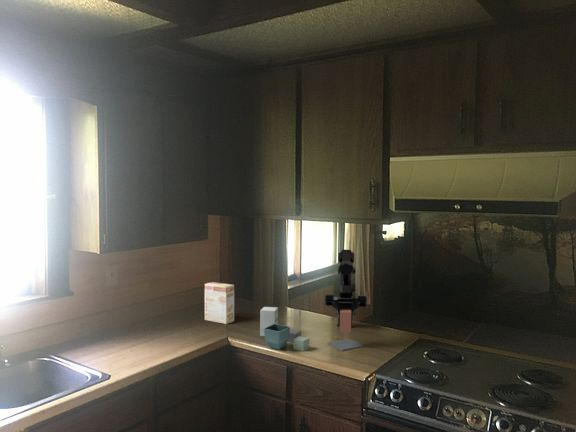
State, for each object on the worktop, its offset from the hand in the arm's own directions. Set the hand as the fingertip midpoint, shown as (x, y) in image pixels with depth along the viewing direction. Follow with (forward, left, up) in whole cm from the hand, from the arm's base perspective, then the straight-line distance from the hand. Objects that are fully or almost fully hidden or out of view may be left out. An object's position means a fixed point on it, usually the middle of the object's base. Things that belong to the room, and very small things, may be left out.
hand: (345, 317), depth 223 cm
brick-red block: (-1, -1, -7) cm, 7 cm away
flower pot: (+27, -14, -13) cm, 33 cm away
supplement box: (+21, -32, -13) cm, 41 cm away
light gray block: (+16, -18, -13) cm, 28 cm away
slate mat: (-1, -1, -13) cm, 13 cm away
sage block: (+19, -7, -13) cm, 24 cm away
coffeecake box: (+32, -66, -13) cm, 75 cm away
